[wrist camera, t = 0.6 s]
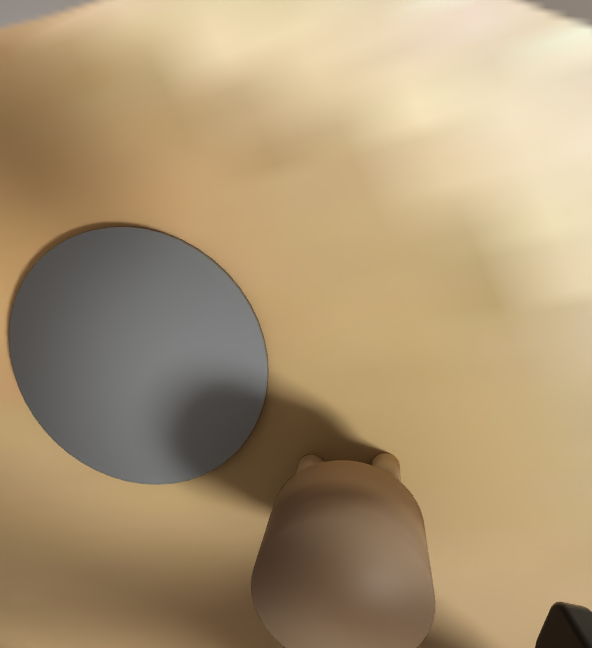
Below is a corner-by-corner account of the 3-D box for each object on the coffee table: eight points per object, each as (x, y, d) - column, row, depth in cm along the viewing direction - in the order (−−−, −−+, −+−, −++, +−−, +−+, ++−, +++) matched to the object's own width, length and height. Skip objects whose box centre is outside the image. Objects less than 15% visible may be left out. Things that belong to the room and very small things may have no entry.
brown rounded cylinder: (380, 561, 23) (382, 697, 17) (264, 506, 23) (225, 620, 17) (442, 461, 22) (470, 572, 15) (316, 401, 22) (294, 488, 15)
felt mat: (211, 519, 24) (208, 524, 24) (-10, 412, 24) (-16, 416, 24) (313, 301, 20) (311, 303, 20) (51, 178, 21) (46, 178, 20)
